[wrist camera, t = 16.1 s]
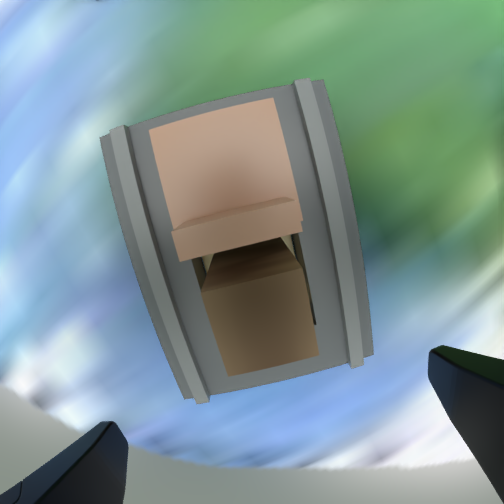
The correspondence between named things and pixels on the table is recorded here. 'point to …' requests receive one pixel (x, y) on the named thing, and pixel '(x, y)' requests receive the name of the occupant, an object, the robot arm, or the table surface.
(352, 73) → the table surface
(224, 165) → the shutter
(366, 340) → the socket block
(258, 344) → the plug
